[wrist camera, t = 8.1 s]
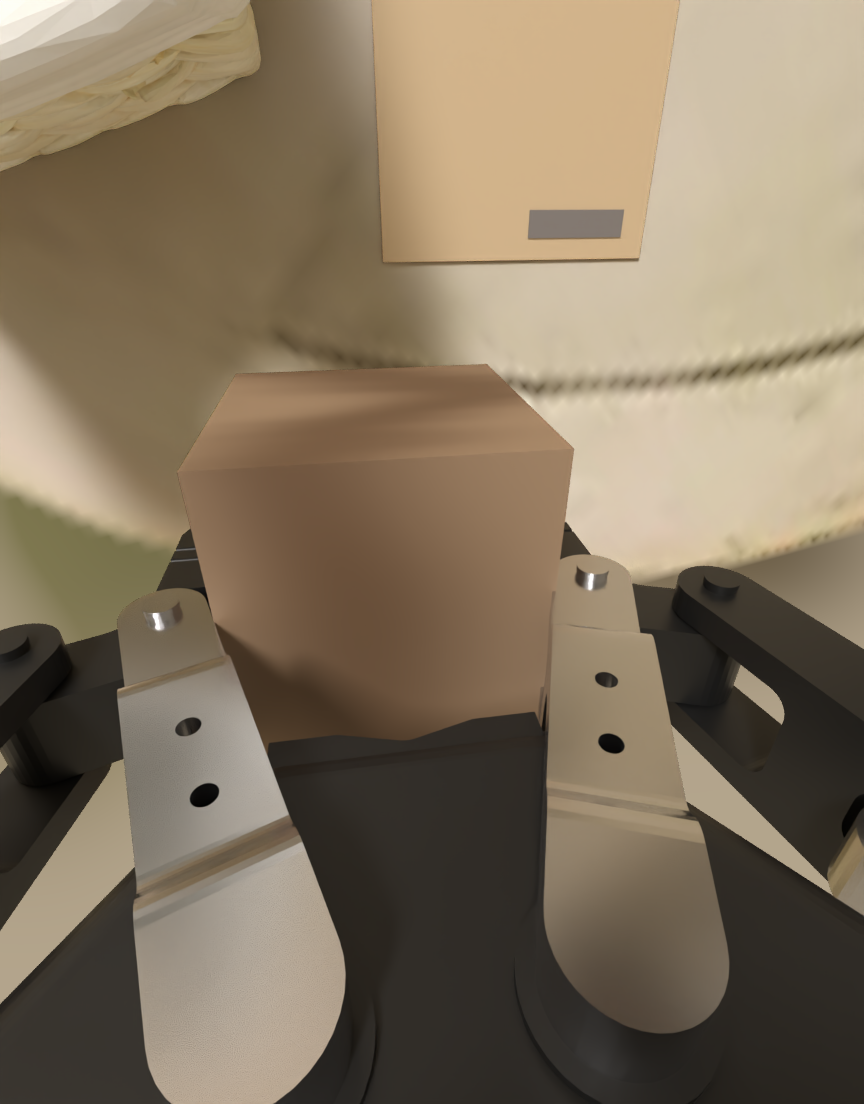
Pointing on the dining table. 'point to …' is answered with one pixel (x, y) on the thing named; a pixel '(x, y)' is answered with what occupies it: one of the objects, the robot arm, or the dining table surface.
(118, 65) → the storage basket
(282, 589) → the walnut block
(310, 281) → the dining table surface
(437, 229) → the letter
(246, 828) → the robot arm
